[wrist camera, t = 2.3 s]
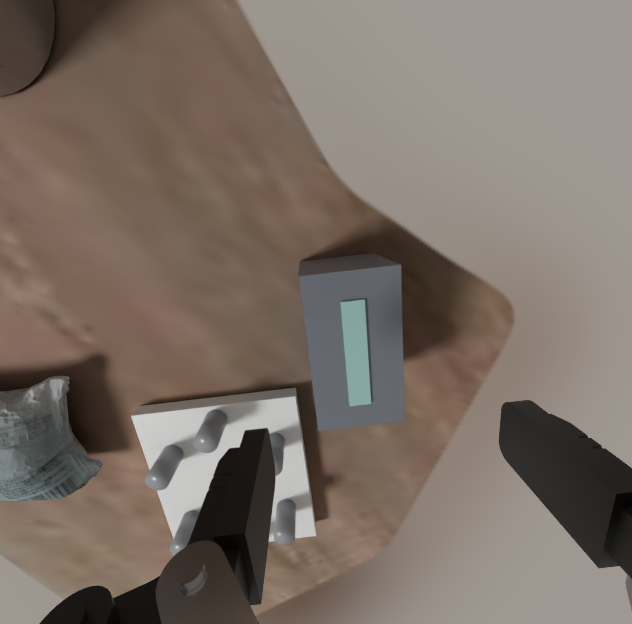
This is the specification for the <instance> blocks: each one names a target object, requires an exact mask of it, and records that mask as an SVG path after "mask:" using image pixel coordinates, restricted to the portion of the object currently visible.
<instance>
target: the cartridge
mask: <svg viewBox="0 0 632 624" xmlns="http://www.w3.org/2000/svg"><path fill="white" fill-rule="evenodd" d="M299 283H300V290H301V298H302V306H303V314H304V322H305V330H306V338H307V346H308V354H309V362H310V369H311V377H312V385H313V393H314V401H315V409H316V417H317V425H318V431H324V430H333V429H341V428H349V427H357V426H366V425H374V424H382V423H391V422H399V421H405V411H404V367H403V324H402V280H401V264H399V263H396V262H394V261H391V260H389V259H387V258H384V257H382V256H379V255H377V254H375V253H368V254H360V255H351V256H342V257H334V258H325V259H316V260H307V261H300V266H299Z"/></svg>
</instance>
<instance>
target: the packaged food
mask: <svg viewBox="0 0 632 624" xmlns="http://www.w3.org/2000/svg"><path fill="white" fill-rule="evenodd" d="M69 379H70V378H69V377H67V376H54V377H50V378H48V379H46V380H44V381H42V382H41V383H39V384H36V385H34V386H32V387H30V388H24V389H17V390H10V391H0V501H28V500H47V499H60V498H64V497H66V496H67V495H70V494H71V493H73V492H75V491H76V490H78V489H80V488H82V487H83V486H85V485H86V484H87V482H88V481H89V480H90V479H91V478H92V477H93V476H96V474H97V473H98V472H99V471H100V470H101V466H102V465H103V464H102V463H101V461H100V460H93V459H91V458H90V457H89V456H88V455H87V451H86V450H85V449H84V448H83V446H82V445H81V444H80V443H79V441H78V440H77V438H76V437H75V436H74V434H73V432H72V428H71V425H70V423H69V418H68V409H67V396H66V394H67V392H68V390H69V389H70V388H69V387H68V385H69V384H70V382H69Z"/></svg>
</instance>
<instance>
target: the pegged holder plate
mask: <svg viewBox="0 0 632 624" xmlns="http://www.w3.org/2000/svg"><path fill="white" fill-rule="evenodd" d="M131 417H132V420H133V423H134V426H135V429H136V432H137V434H138V437H139V440H140V443H141V446H142V449H143V452H144V455H145V458H146V460H147V463H148V466H149V469H150V471H149V473H148V474H147V476H146V478H145V483H146V485H147V486H148V487H149V488H151V489H153V490H157V492H158V495H159V498H160V501H161V504H162V507H163V509H164V512H165V515H166V518H167V521H168V524H169V527H170V530H171V533H172V535H173V538H174V539H173V542H172V544H171V547H170V552H171V554H172V555H173V556H175V555H176V554H177V553H178V552H179V551H181V550H182V549H183V548H185V547H186V546H187V544H188V542H189V539H190V537H191V534H192V531H193V529H194V526H195V523H196V520H197V518H198V515H199V512H200V510H201V507H202V504H203V502H204V499H205V496H206V494H207V491H209V486H210V483H211V480H212V479H213V475H214V472H215V470H216V467H217V464H218V461H219V460H220V459H221V458H222V457H223V455H224V454H225V453H226V452H227V451H228V449H229V448H237V447H240V444H241V441H242V438H243V435H244V432H245V430H253V429H262V428H268V430H269V435H270V440H271V446H272V452H273V458H274V463H275V491H274V499H273V508H272V516H271V525H270V533H269V541H268V542H270V541H275V542H276V543H278V544H280V545H288V544H291V543H292V542H293V541H294V540H295V538H302V537H310V536H316V522H315V515H314V508H313V501H312V494H311V488H310V481H309V474H308V467H307V460H306V454H305V447H304V440H303V433H302V426H301V420H300V413H299V406H298V399H297V392H296V388H288V389H279V390H271V391H262V392H254V393H245V394H237V395H229V396H220V397H212V398H203V399H195V400H187V401H178V402H170V403H161V404H153V405H145V406H140V407H139V408H138V409H137V410H136V411H135V412H134V413H133V414H132V415H131Z"/></svg>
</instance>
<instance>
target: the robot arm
mask: <svg viewBox="0 0 632 624" xmlns="http://www.w3.org/2000/svg"><path fill="white" fill-rule="evenodd" d="M54 27H55V12H54V5H53V0H0V97H1V96H5V95H9V94H13V93H15V92H17V91H19V90H21V89H22V88H24V87H26V86H28V85H29V84H30V83H31V82H32V81H33V80H34V79H35V78H36V77H37V76H38V75H39V74H40V72H41V71H42V69H43V67H44V65H45V63H46V61H47V60H48V58H49V55H50V51H51V47H52V43H53V40H54ZM499 446H500V450H501V452H502V454H503V456H504V458H505V460H506V461H507V462H508V463H509V464H510V466H511V467H512V468H513V469H514V470H515V471H516V472H517V474H518V475H519V476H520V477H521V478H522V480H523V481H524V482H525V483H526V484H527V485H528V487H529V488H530V489H531V490H532V491H533V492H534V494H535V495H536V496H537V497H538V498H539V499H540V501H541V502H542V503H543V504H544V505H545V506H546V507H547V509H548V510H549V511H550V512H551V513H552V514H553V516H554V517H555V518H556V519H557V520H558V521H559V523H560V524H561V525H562V526H563V527H564V528H565V530H566V531H567V532H568V533H569V534H570V535H571V537H572V538H573V539H574V540H575V541H576V542H577V544H578V545H579V546H580V547H581V548H582V549H583V551H584V552H585V553H586V554H587V555H588V556H589V557H590V559H591V560H592V561H593V562H594V563H595V564H596V566H597V567H598V568H605V567H614V566H620V567H621V568H622V569H623V570H624V571H625V572H626V573H627V578H626V588H627V592H628V597H629V601H630V605H631V610H632V468H631V467H629V466H628V465H627V464H625V463H624V462H623V461H621V460H620V459H619V458H617V457H616V456H615V455H613V454H612V453H610V452H609V451H608V450H606V449H603V448H602V447H601V445H600V444H598V443H597V442H595V441H594V440H593V439H592V438H588V436H587V435H586V434H585V433H583V432H582V431H581V430H579V429H578V428H577V427H575V426H574V425H572V424H571V423H569V422H567V421H565V420H563V419H561V418H559V417H556V416H554V415H552V414H548V413H547V412H546V411H544V410H543V409H542V408H540V407H539V406H538V405H536V404H535V403H534V402H532V401H530V400H524V401H515V402H506V403H504V404H503V406H502V409H501V421H500V433H499ZM274 491H275V463H274V458H273V452H272V446H271V440H270V435H269V430H268V428H262V429H253V430H245V432H244V435H243V438H242V441H241V444H240V447H237V448H229V449H228V451H227V452H226V453H225V454H224V455H223V457H222V458H221V459H220V460H219V461H218V464H217V467H216V470H215V472H214V475H213V479H212V480H211V483H210V486H209V491H207V494H206V496H205V499H204V502H203V504H202V507H201V510H200V512H199V515H198V518H197V520H196V523H195V526H194V529H193V531H192V534H191V537H190V539H189V542H188V544H187V546H186V547H185V548H183V549H182V550H181V551H179V552H178V553H177V554H176V555H175V556H174V557H173V558H172V559H171V560H170V561H169V562H168V563H167V565H166V566H165V568H164V569H163V571H162V573H161V575H160V576H159V577H157V578H156V579H154V580H152V581H150V582H148V583H146V584H144V585H142V586H139V587H137V588H135V589H133V590H131V591H128V592H126V593H124V594H122V595H120V596H117V597H115V598H112V596H111V593H110V591H109V590H108V589H107V588H105V587H103V586H91V587H87V588H84V589H82V590H80V591H78V592H76V593H74V594H72V595H71V596H69V597H68V598H66V599H65V600H63V601H62V602H61V603H60V604H58V605H57V606H56V607H55V608H54V609H53V610H52V611H51V612H50V613H49V614H48V615H47V616H46V617H45V618H44V619H43V620H42V621H41V623H40V624H259V623H258V621H257V619H256V617H255V615H254V613H253V611H252V609H251V607H250V605H257V604H261V600H262V592H263V584H264V575H265V567H266V558H267V550H268V541H269V533H270V525H271V516H272V508H273V499H274Z"/></svg>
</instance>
